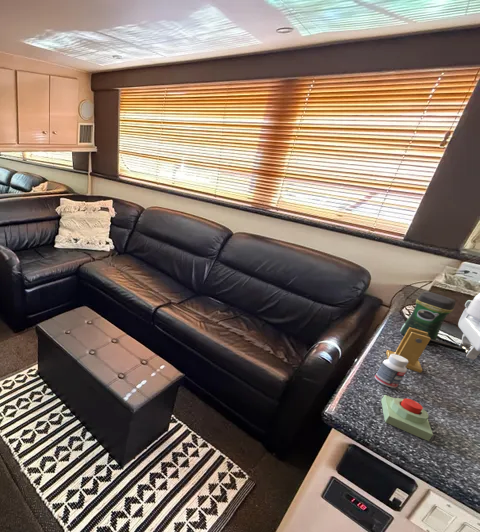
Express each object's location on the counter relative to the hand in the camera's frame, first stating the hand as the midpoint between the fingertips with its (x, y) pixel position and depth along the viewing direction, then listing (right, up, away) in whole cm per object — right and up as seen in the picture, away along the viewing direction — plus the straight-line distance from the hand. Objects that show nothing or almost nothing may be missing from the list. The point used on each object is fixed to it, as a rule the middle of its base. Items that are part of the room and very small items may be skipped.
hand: (466, 352), depth 97 cm
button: (-35, -10, -17) cm, 40 cm away
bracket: (-10, -6, +10) cm, 15 cm away
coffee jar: (+13, -1, +27) cm, 30 cm away
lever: (-5, +1, +4) cm, 6 cm away
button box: (-35, -13, -15) cm, 40 cm away
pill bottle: (-26, -9, -1) cm, 27 cm away
